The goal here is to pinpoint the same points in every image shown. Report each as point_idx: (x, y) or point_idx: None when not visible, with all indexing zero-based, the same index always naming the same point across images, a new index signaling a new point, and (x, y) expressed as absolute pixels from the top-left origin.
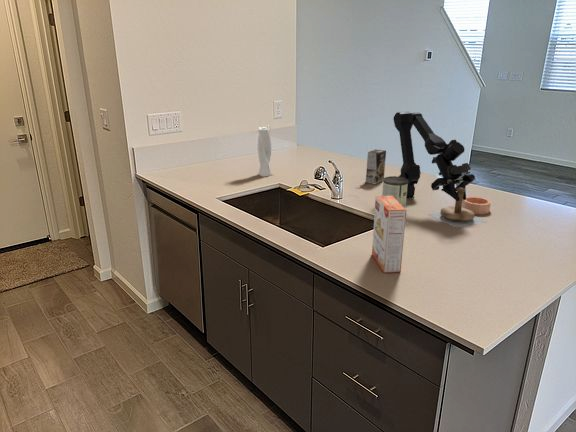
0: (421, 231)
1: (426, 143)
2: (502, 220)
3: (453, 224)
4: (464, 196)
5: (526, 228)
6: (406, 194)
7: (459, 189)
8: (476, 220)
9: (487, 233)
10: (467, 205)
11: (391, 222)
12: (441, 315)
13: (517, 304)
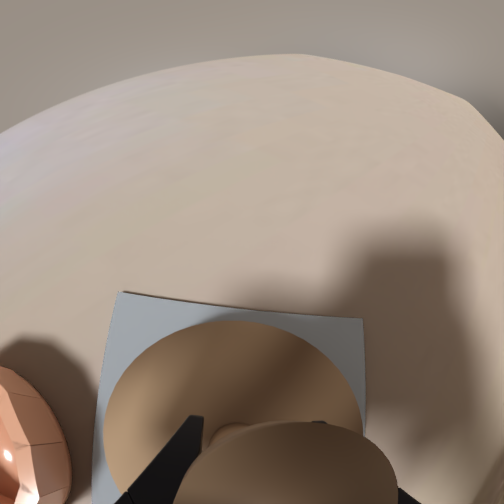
0: (487, 352)
1: None
2: (31, 267)
3: (343, 361)
4: (201, 443)
5: (66, 168)
6: None
7: (382, 478)
8: (149, 339)
9: (257, 205)
10: (47, 477)
11: None
12: (493, 132)
13: (418, 87)
